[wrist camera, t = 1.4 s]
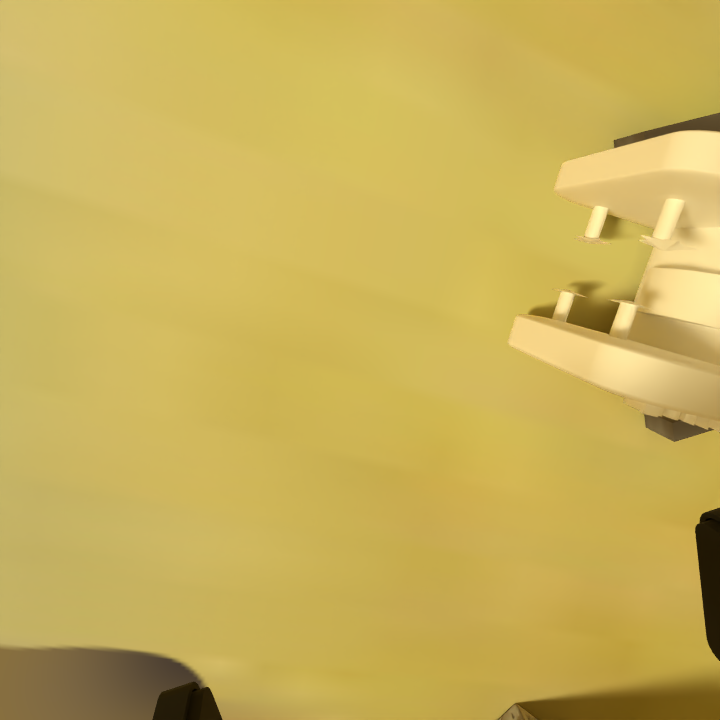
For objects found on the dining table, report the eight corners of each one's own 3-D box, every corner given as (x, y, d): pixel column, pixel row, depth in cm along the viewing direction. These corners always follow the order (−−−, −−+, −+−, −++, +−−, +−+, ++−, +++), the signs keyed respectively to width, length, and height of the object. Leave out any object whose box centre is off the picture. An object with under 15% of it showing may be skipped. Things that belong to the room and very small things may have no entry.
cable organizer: (765, 236, 32) (1028, 234, 21) (699, 400, 34) (908, 480, 23) (544, 162, 29) (712, 113, 18) (486, 346, 31) (604, 408, 20)
